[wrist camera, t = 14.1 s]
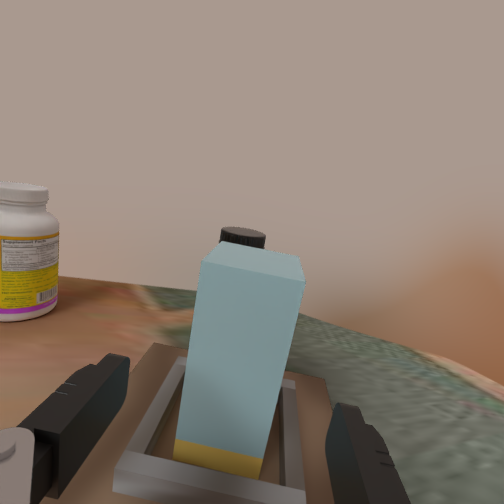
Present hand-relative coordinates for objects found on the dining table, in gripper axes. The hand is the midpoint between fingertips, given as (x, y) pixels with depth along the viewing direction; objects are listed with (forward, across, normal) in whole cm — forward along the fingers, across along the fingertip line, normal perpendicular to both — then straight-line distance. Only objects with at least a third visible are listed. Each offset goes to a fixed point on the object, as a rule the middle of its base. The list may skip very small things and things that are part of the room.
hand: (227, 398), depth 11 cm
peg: (+6, 0, +8) cm, 10 cm away
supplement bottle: (+17, +24, +9) cm, 31 cm away
